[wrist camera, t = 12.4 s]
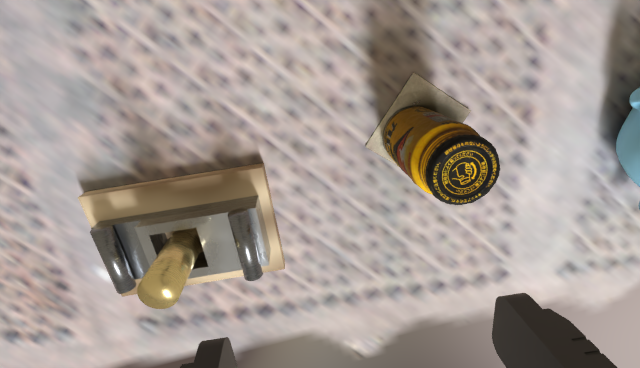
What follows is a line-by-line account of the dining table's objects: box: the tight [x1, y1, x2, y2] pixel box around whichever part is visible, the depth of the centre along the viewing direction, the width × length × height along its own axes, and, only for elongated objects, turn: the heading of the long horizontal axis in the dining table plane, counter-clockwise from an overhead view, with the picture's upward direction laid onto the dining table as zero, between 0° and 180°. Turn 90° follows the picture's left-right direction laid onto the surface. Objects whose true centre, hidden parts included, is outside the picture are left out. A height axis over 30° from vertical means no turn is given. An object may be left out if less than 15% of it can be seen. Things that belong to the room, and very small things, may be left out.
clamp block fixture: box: [78, 163, 285, 296], centre depth 34 cm, size 12×18×6 cm, turn 98°
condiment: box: [365, 72, 500, 205], centre depth 29 cm, size 7×8×12 cm
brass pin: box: [137, 228, 202, 309], centre depth 31 cm, size 3×3×9 cm
